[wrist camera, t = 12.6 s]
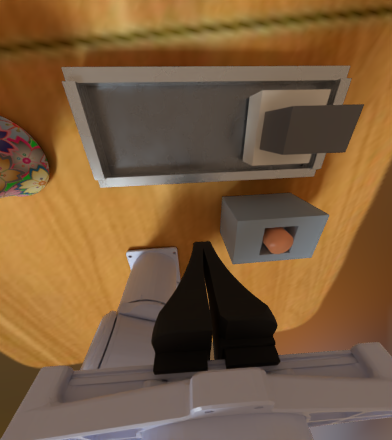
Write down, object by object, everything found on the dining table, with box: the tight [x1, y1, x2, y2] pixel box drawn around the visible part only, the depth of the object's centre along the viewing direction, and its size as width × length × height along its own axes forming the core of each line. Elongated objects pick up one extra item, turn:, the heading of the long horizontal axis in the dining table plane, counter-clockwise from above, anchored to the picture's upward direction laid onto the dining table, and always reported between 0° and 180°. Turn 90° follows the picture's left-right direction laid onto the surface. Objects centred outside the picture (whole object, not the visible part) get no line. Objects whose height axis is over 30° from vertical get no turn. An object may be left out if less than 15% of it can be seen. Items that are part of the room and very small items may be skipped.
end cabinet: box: [220, 193, 329, 264], centre depth 21 cm, size 6×10×7 cm, turn 92°
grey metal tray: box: [61, 66, 352, 188], centre depth 17 cm, size 10×25×3 cm, turn 92°
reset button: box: [262, 227, 293, 254], centre depth 19 cm, size 3×3×2 cm
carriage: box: [243, 89, 364, 166], centre depth 14 cm, size 6×6×7 cm
